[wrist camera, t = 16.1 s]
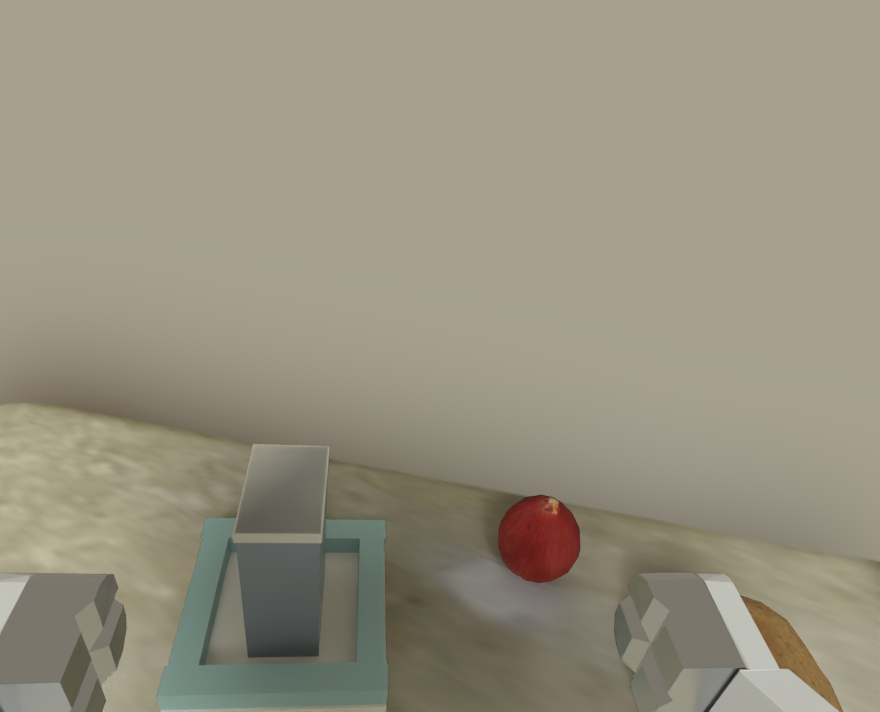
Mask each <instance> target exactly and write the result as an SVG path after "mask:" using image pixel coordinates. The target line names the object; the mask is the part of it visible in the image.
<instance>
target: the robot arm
mask: <svg viewBox="0 0 880 712" xmlns="http://www.w3.org/2000/svg"><path fill="white" fill-rule="evenodd" d="M628 589H629V591H630V594H631V595H630V596H628V597H627V598H625V599H624V600H622V601H621V602H620V603H619V605H618V608H617V610H616V613H615V620H614V633H615V639H616V645H617V648H618V651H619V654H620V657H621V660H622V661H623V662H624V663H625V664H626V665H627V666H628V667H629V668H630V669H631V670H632V671H633V672H634V676H633V680H632V683H631V686H630V688H631V691H632V694H633V696H634V699H635V702H636V705H637V708H638V711H639V712H839V711H838V710H837V709H836V708H835V707H833V706H832V705H831V704H830V703H829V702H827V701H826V700H825V699H824V698H823V697H821V696H820V695H819V694H818V693H817V692H816V691H814V690H813V689H812V688H811V687H810V686H808V685H807V684H806V683H805V682H804V681H802V680H801V679H800V678H799V677H798V676H796V675H795V674H794V673H793V672H792V671H791V670H789V669H782V668H779V666H778V664H777V663H776V661H775V659H774V657H773V655H772V653H771V652H770V650H769V648H768V646H767V644H766V642H765V641H764V639H763V637H762V635H761V633H760V631H759V630H758V628H757V626H756V624H755V622H754V620H753V619H752V617H751V615H750V613H749V611H748V609H747V607H746V606H745V604H744V602H743V600H742V598H741V596H740V595H739V593H738V591H737V589H736V587H735V585H734V584H733V582H732V580H731V579H730V578H729V577H728V576H727V575H726V574H723V573H692V572H678V573H638V574H636V575H634V576H632V578H631V580H630V582H629V584H628ZM117 590H118V585H117V582H116V579H115V577H114V574H67V573H0V712H102V711H103V708H104V705H105V702H106V699H105V696H104V693H103V690H102V687H101V684H102V683H103V682H104V681H105V680H106V679H107V678H108V677H109V676H110V675H111V674H112V673H114V672H115V671H116V670H117V667H118V664H119V661H120V658H121V655H122V651H123V647H124V641H125V635H126V613H125V609H124V605H122V604H121V603H119V602H118V601H116V600H115V599H114V598H115V595H116V592H117Z"/></svg>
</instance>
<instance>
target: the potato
mask: <svg viewBox="0 0 880 712" xmlns="http://www.w3.org/2000/svg"><path fill="white" fill-rule="evenodd" d="M740 596H741V595H740ZM741 598H742V600H743V602H744V604H745V606H746V607H747V609H748V611H749V613H750V615H751V617H752V619H753V620H754V622H755V624H756V626H757V628H758V630H759V631H760V633H761V635H762V637H763V639H764V641H765V642H766V644H767V646H768V648H769V650H770V652H771V653H772V655H773V657H774V659H775V661H776V663H777V664H778V666H779V668H782V669H789V670H791V671H792V672H793V673H794V674H795V675H796V676H798V677H799V678H800V679H801V680H802V681H804V682H805V683H806V684H807V685H808V686H810V687H811V688H812V689H813V690H814V691H816V692H817V693H818V694H819V695H820V696H821V697H823V698H824V699H825V700H826V701H827V702H829V703H830V704H831V705H832V706H833V707H835V708H836V709H837V710H838V711H839V712H843V711H842V708H841V706H840V704H839V702H838V699H837V697H836V695H835V693H834V690H833V688H832V686H831V684H830V682H829V680H828V679H827V678H826V676H825V675H824V674H823V672H822V671H821V670H820V668H819V667H818V665H817V663H816V662H815V660H814V659H813V657H812V655H811V654H810V652H809V650H808V649H807V647H806V646H805V644H804V643H803V642H802V640H801V639H800V637H799V636H798V635H797V633H796V632H795V630H794V629H793V628H792V626H791V625H790V623H789V622H788V621H787V620H786V619H785V618H783V617H782V616H780V615H779V614H777V613H776V612H774V611H773V610H772V609H770V608H769V607H767V606H766V605H764V604H763V603H761V602H758V601H755V600H752V599H750V598H747V597H744V596H741Z"/></svg>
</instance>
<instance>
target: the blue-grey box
mask: <svg viewBox="0 0 880 712" xmlns="http://www.w3.org/2000/svg"><path fill="white" fill-rule="evenodd" d="M329 452H330V446H304V445H268V444H253V446H252V451H251V455H250V459H249V464H248V468H247V472H246V477H245V481H244V485H243V490H242V494H241V499H240V503H239V507H238V512H237V516H236V520H235V525H234V529H233V533H232V537H233V543H236V549H237V559H238V568H239V578H240V587H241V597H242V606H243V616H244V625H245V635H246V644H247V654H248V658H256V657H312V656H319V643H320V630H321V616H322V603H323V590H324V577H325V551H326V505H327V478H328V466H329Z"/></svg>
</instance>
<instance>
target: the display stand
mask: <svg viewBox="0 0 880 712" xmlns="http://www.w3.org/2000/svg"><path fill="white" fill-rule="evenodd" d="M235 520H236V518H206V520H205V523H204V527H203V531H202V534H201V547H200V550H199V554H198V557H197V561H196V565H195V568H194V572H193V576H192V579H191V583H190V586H189V590H188V594H187V597H186V601H185V605H184V608H183V612H182V615H181V619H180V623H179V626H178V630H177V634H176V637H175V641H174V644H173V648H172V652H171V655H170V659H169V663H168V666H165V667H164V670H163V674H162V677H161V681H160V684H159V688H158V692H157V695H156V697H157V701H158V705H159V708H160V712H386V707H387V697H388V662H386V630H385V560H384V552H385V543H386V520H347V519H326V551H325V577H324V590H323V603H322V616H321V630H320V643H319V656H312V657H256V658H248V654H247V644H246V635H245V625H244V616H243V606H242V597H241V587H240V578H239V568H238V559H237V549H236V543H233V537H232V533H233V529H234V525H235Z"/></svg>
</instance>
